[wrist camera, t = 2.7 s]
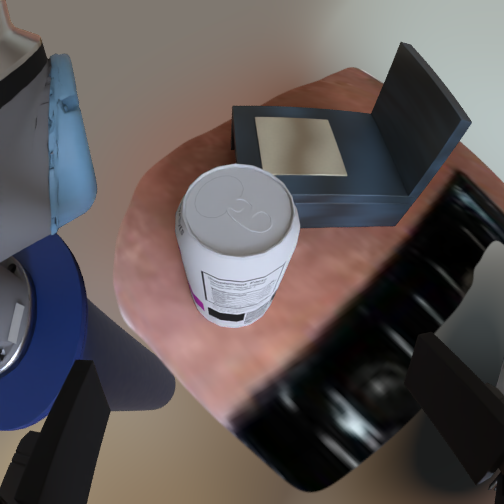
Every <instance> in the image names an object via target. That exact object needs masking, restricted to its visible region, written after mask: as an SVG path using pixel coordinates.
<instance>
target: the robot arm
mask: <svg viewBox="0 0 504 504" xmlns="http://www.w3.org/2000/svg"><path fill="white" fill-rule="evenodd" d="M96 194H97V184H96V177H95V173H94V168H93V164H92V160H91V155H90V150H89V146H88V142H87V138H86V133H85V128H84V124H83V119H82V115H81V111H80V108H79V101H78V97H77V91H76V84H75V78H74V73H73V68H72V63H71V60H70V57H69V56H68V55H67V54H60V55H58V54H54V55H52V56H50V58H49V59H48V58H47V57H46V53H45V50H44V47H43V44H42V40H41V37H40V36H39V35H37V34H34V33H31V32H28V31H25V30H22V29H19V28H16V27H14V25H13V24H12V23H11V20H10V16H9V12H8V9H7V4H6V0H0V378H2V377H4V376H6V375H7V374H9V373H10V372H11V371H13V370H14V369H15V368H16V367H17V366H18V364H19V363H20V362H21V360H22V359H23V357H24V356H25V354H26V352H27V350H28V348H29V346H30V343H31V341H32V338H33V334H34V331H35V326H36V319H37V298H36V292H35V287H34V284H33V281H32V279H31V277H30V275H29V273H28V271H27V270H26V269H25V267H24V266H23V265H22V264H21V263H20V262H18V261H17V260H16V259H15V258H14V257H13V256H12V255H14V254H16V253H17V252H19V251H21V250H23V249H24V248H26V247H28V246H30V245H32V244H33V243H35V242H37V241H39V240H41V239H43V238H44V237H46V236H48V235H50V234H51V235H54V234H55V233H56V232H57V231H58V228H60V227H62V226H63V225H65V224H67V223H68V222H70V221H72V220H74V219H75V218H77V217H79V216H80V215H82V214H84V213H85V212H87V211H88V210H89V209H90V207H91V206H92V204H93V202H94V200H95V198H96ZM404 385H405V386H406V387H407V389H408V390H409V391H410V393H411V394H412V395H413V397H414V398H415V399H416V401H417V402H418V403H419V405H420V406H421V408H422V409H423V410H424V412H425V413H426V414H427V416H428V417H429V418H430V420H431V421H432V423H433V424H434V426H435V427H436V428H437V430H438V431H439V433H440V434H441V435H442V437H443V438H444V440H445V441H446V442H447V444H448V445H449V447H450V448H451V449H452V451H453V452H454V454H455V455H456V457H457V458H458V459H459V461H460V462H461V464H462V465H463V467H464V468H465V470H466V471H467V473H468V474H469V475H470V477H471V479H472V480H473V481H474V483H475V485H479V484H480V483H482V482H484V481H485V480H487V479H488V478H490V477H491V476H492V475H493V474H494V472H495V471H496V470H497V468H499V469H500V471H501V472H500V474H499V475H498V476H497V477H496V479H495V480H494V481H493V482H492V483H491V484H490V486H489V489H488V490H491V489H492V488H493V486H494V485H495V484H496V483H497V486H496V487H495V489H494V490H496V497H495V504H504V395H503V394H502V392H501V391H500V390H499V389H498V388H496V387H494V386H492V385H490V384H489V383H486V384H484V383H483V382H482V381H481V380H480V379H479V378H478V377H477V376H476V375H475V374H474V373H473V372H472V371H471V370H470V369H469V368H468V367H467V366H466V365H465V364H464V363H463V362H462V361H461V360H460V359H459V358H458V357H457V356H456V355H455V354H454V353H453V352H452V351H451V350H450V349H449V348H448V347H447V346H446V345H445V344H444V343H443V342H442V341H441V340H440V339H438V337H436V336H435V335H434V334H433V333H432V332H429V333H424V334H419V335H418V337H417V341H416V345H415V348H414V352H413V356H412V359H411V362H410V366H409V369H408V372H407V375H406V378H405V382H404ZM109 415H110V408H109V405H108V403H107V400H106V397H105V395H104V392H103V389H102V386H101V383H100V380H99V377H98V374H97V371H96V368H95V365H94V362H93V361H92V360H75V362H74V364H73V366H72V368H71V370H70V372H69V374H68V376H67V378H66V379H65V381H64V383H63V385H62V387H61V389H60V391H59V394H58V396H57V398H56V400H55V402H54V404H53V406H52V408H51V410H50V412H49V414H48V417H47V419H46V421H45V423H44V425H43V427H42V430H41V432H34V431H29V433H27V434H26V435H25V436H24V437H23V438H22V439H21V441H20V443H19V445H18V447H17V449H16V453H15V454H14V456H13V458H12V463H10V465H9V467H8V470H7V472H6V475H5V477H4V479H3V482H2V485H1V487H0V504H87V501H88V496H89V492H90V487H91V483H92V479H93V474H94V470H95V466H96V462H97V458H98V455H99V451H100V447H101V443H102V439H103V436H104V432H105V429H106V425H107V422H108V418H109Z"/></svg>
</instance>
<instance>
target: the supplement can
mask: <svg viewBox="0 0 504 504" xmlns="http://www.w3.org/2000/svg"><path fill="white" fill-rule="evenodd" d="M299 231H300V222H299V217H298V212H297V208H296V206H295V204H294V202H293V197H292V195H291V194H290V192H289V191H288V189H287V188H286V186H285V184H284V183H283V182H282V181H281V180H279V179H278V178H277V177H275V176H274V175H273V174H272V173H270V172H268V171H266V170H263V169H261V168H258V167H256V166H253V165H244V164H229V165H223V166H217V167H215V168H213V169H211V170H209V171H207V172H205V173H203V174H201V175H200V176H199V177H198V178H197V179H196V180H195V181H194V182H193V183H192V184H191V185H190V186H189V188H188V190H187V192H186V194H185V195H184V196H183V198H182V200H181V203H180V205H179V207H178V209H177V211H176V221H175V233H176V237H177V241H178V245H179V249H180V253H181V257H182V261H183V265H184V269H185V272H186V276H187V280H188V284H189V287H190V291H191V295H192V298H193V300H194V302H195V305H196V307H197V310H198V311H199V312H200V313H201V314H202V315H203V316H204V317H205V318H206V319H207V320H209V321H211V322H213V323H215V324H217V325H219V326H222V327H231V328H238V327H242V326H246V325H250V324H252V323H253V322H255V321H256V320H258V319H259V318H261V317H262V316H263V315H264V313H265V312H266V310H267V309H268V308H269V306H270V304H271V302H272V300H273V298H274V295H275V293H276V291H277V289H278V286H279V284H280V282H281V279H282V277H283V275H284V273H285V270H286V268H287V266H288V263H289V261H290V259H291V256H292V254H293V252H294V249H295V247H296V244H297V240H298V235H299Z"/></svg>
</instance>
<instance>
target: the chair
mask: <svg viewBox="0 0 504 504" xmlns="http://www.w3.org/2000/svg"><path fill="white" fill-rule="evenodd" d="M471 123H472V122H471V120H470V119H469V117H468V116H467V114H466V113H465V111H464V110H463V108H462V107H461V106H460V104H459V103H458V102H457V100H456V99H455V97H454V96H453V95H452V93H451V92H450V91H449V90H448V88H447V87H446V86H445V84H444V83H443V82H442V81H441V79H440V78H439V77H438V75H437V74H436V73H435V72H434V71H433V69H432V68H431V67H430V66H429V65H428V64H427V62H426V61H425V60H424V59H423V58H422V57H421V56H420V54H419V53H418V52H417V51H416V50H415V49H414V48H413V47H412V45H410V44H407V43H403V42H401V43H400V45H399V48H398V50H397V53H396V55H395V58H394V60H393V63H392V65H391V68H390V70H389V72H388V75H387V77H386V80H385V82H384V84H383V87H382V89H381V92H380V94H379V96H378V99H377V101H376V103H375V106H374V108H373V110H372V113H371V114H368V113H360V112H351V111H341V110H330V109H317V108H302V107H281V106H233V107H232V124H231V150H235V158H236V164H244V165H253V166H256V167H258V168H261V169H263V170H266V171H268V172H270V173H272V174H273V175H274V176H275V177H277V178H278V179H279V180H281V181H282V182H283V183H284V184H285V186H286V188H287V189H288V191H289V192H290V194H291V195H292V197H293V202H294V204H295V206H296V208H297V212H298V217H299V222H300V228H324V227H369V226H395V225H396V224H397V223H398V222H399V221H400V219H401V218H402V217H403V216H404V214H405V213H406V212H407V211H408V209H409V208H410V207H411V206H412V204H413V203H414V202H415V200H416V199H417V198H418V196H419V195H420V194H421V193H422V191H423V190H424V189H425V187H426V186H427V185H428V184H429V182H430V181H431V180H432V178H433V177H434V176H435V174H436V173H437V172H438V170H439V169H440V167H441V166H442V165H443V163H444V162H445V161H446V159H447V158H448V156H449V155H450V154H451V152H452V151H453V149H454V148H455V147H456V145H457V144H458V142H459V141H460V139H461V138H462V137H463V135H464V134H465V132H466V131H467V129H468V127H469V126H470V125H471Z"/></svg>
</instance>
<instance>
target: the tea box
mask: <svg viewBox="0 0 504 504" xmlns="http://www.w3.org/2000/svg"><path fill="white" fill-rule="evenodd" d="M496 388H498V389H499V390H500V391H501V392H502V394H503V395H504V359H503V363H502V367H501V371H500V374H499V378H498V382H497V385H496Z"/></svg>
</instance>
